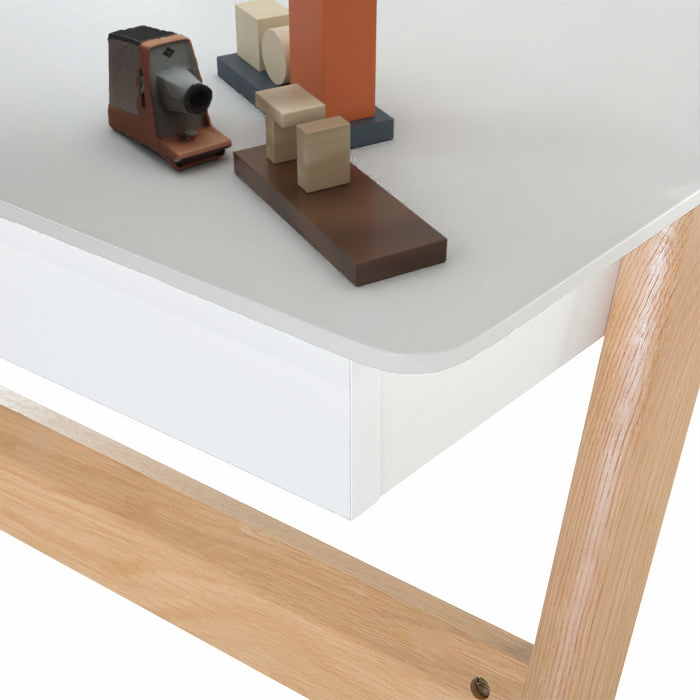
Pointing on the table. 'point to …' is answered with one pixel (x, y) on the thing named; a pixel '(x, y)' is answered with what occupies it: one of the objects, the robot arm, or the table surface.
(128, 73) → the electronic device
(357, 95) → the terracotta cuboid
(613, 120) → the table surface
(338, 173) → the blocks on brown board
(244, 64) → the wooden block set
